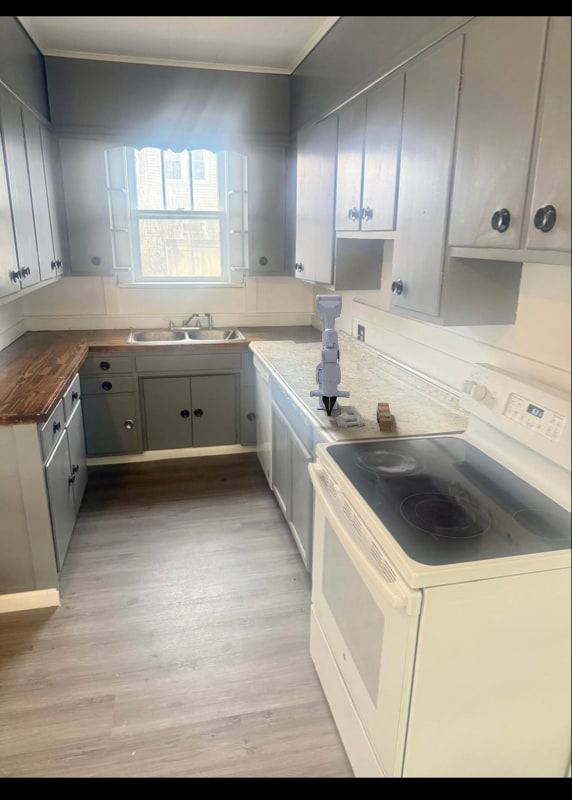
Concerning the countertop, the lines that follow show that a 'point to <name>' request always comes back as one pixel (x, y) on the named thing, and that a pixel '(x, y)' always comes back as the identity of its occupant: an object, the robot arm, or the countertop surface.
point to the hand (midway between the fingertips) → (329, 415)
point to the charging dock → (384, 417)
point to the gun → (349, 417)
